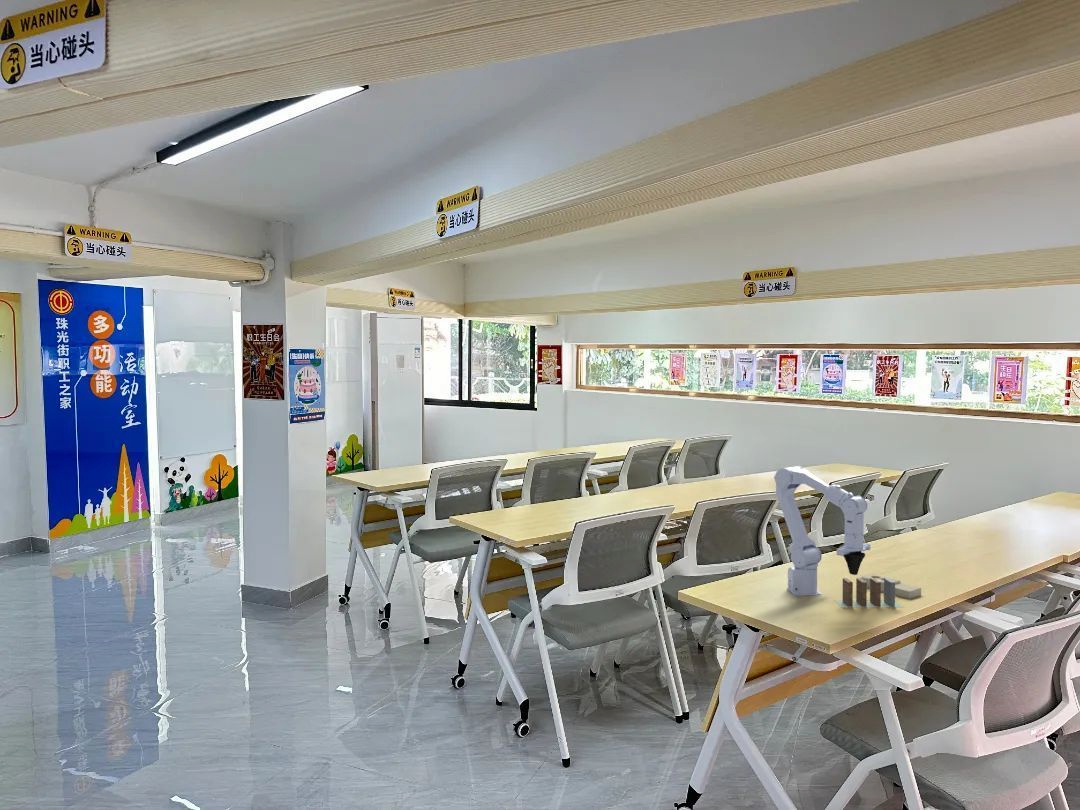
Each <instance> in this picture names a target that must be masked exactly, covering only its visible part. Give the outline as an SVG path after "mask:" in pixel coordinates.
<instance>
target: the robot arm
mask: <svg viewBox="0 0 1080 810" xmlns="http://www.w3.org/2000/svg"><path fill="white" fill-rule="evenodd" d="M775 472H776V473H775V474H774V476H773V479H774V483H775V484H776V485H775V495H776V498H777V500H778V503H779V505H780V509H781V512H782V515H783V517H784V520H785V521H784V522H785V523H786V526H787V529H788V531H789V534H790V537H791V540H792V543H791V545H790V547H789V550H790V554H791V555H790V560H791V562H792V564H793V565H794V566H789V567H788V568H787V587H786V589H787V590H788V591H789V592H790V593H791V594H792V595H793V596H821V595H822V592H820V591H819V590H818V567H819V563H821V561H822V552H821V550H820V548H818V546H817V545H816V542H815V541H814V539H811V538H810V537H809V535H808V533H807V529H806V527H805V524H804V521H803V518H802V516H801V513H800V510H799V507H798V503H797V500H796V499H795V496H794V494H795V492H796V490H797V489H798V488H799V487H800V486H801V485H806V486H808V487H810V488H812V489H814V490H816V491H817V492H819V493H821V494H823V497H824V499H825V500H826V501H829V502H830V503H832V504H833V505H835V506H837V507H838V508H840V509H841V511H842V512H843V515H844V516H843V518H844V541H843V542H844V545H843V546H841V547H839V548H836V555H837V556H841V557H843V558H844V560H845V563H846V565H847V570H848V572H849V574H850V575H852V576H857V575H858V573H859V570H860V567H861V564H862V562H863V560H864V559H865V557H866V553H865V552H866V551H871V543H867V542H866V543H864V531H865V530H864V529H865V528H864V527H865V525H864V523H865V521H864V520H865V519H864V518H865V515H864V514H865V512H866V511H867V509H868V502H867V500H866V499H865V498H864V497H863V496H862V495H854V493H852V492H848V491H847V490H845V489H843V488H842V486H841V485H839V484H832V485H830V484H828V483H826V482H824V481H823V480H821V478H818V477H817V476H815V475H814V474H812V473H810V471H809V470H808V469H807V468H804V467H802V466H801V465H795V466H790V467H781V468H779V469H777V471H775Z"/></svg>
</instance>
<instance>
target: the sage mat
mask: <svg viewBox="0 0 1080 810" xmlns="http://www.w3.org/2000/svg"><path fill="white" fill-rule="evenodd" d="M833 601H834V602H835V603H836V604H837V605H839V606H840V607H841V608H849V607H848V606H847V605H846V604H845V603H843V599H842V600H841V599H837V600H836V599H835V600H833ZM852 608H863V607H862V606H861V605H860V604H858V603H857V602H856V599H855V600H854V599H853V607H852ZM866 608H877V607H876V606H875V605H874V604H872V603H871V602H870V599H869V600H867V607H866ZM880 608H891V607H890V606H889V605H888V604H886V603H885V602H884V599H882V600H881V607H880ZM894 608H904V606H903V605H902V604H900V603H899V602H898V601H897V600H895V607H894Z"/></svg>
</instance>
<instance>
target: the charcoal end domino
mask: <svg viewBox="0 0 1080 810" xmlns="http://www.w3.org/2000/svg"><path fill="white" fill-rule="evenodd" d="M889 578H890V577H889ZM889 578H884V592H883V600H884V602H885V603H886V604H888V605H889V606H890V607H889V608H896V607H895V601H896V595H895V582H894V581H892V580H891V579H889Z"/></svg>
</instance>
